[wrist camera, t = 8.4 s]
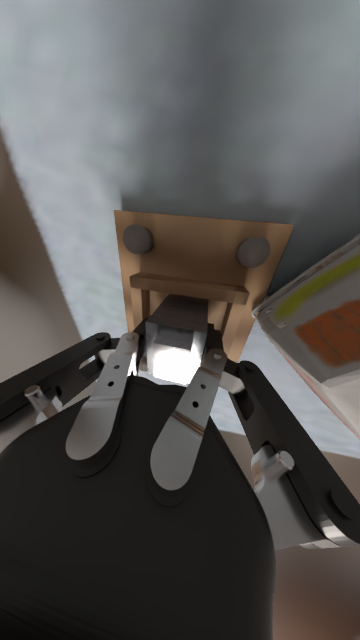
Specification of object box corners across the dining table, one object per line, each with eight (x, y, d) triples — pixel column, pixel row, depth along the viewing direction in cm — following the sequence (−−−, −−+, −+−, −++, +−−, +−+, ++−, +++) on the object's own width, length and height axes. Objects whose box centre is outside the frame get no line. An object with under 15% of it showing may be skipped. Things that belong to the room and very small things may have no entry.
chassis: (121, 213, 13) (96, 203, 10) (286, 226, 11) (312, 220, 8) (135, 357, 21) (124, 374, 19) (227, 377, 20) (230, 398, 17)
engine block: (169, 293, 14) (139, 328, 8) (208, 299, 14) (207, 341, 8) (167, 333, 17) (143, 382, 11) (200, 339, 16) (194, 394, 10)
